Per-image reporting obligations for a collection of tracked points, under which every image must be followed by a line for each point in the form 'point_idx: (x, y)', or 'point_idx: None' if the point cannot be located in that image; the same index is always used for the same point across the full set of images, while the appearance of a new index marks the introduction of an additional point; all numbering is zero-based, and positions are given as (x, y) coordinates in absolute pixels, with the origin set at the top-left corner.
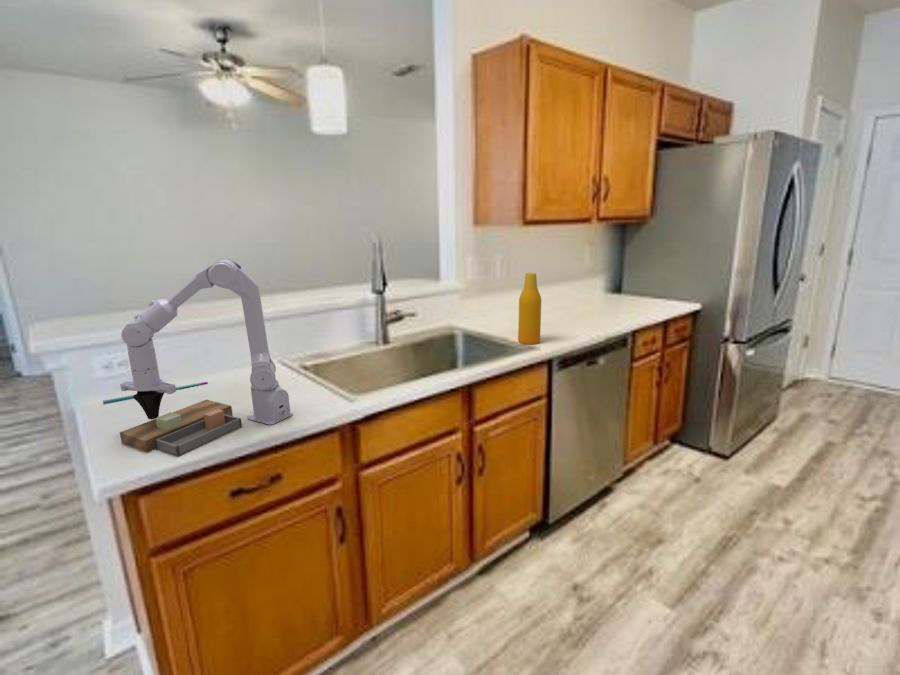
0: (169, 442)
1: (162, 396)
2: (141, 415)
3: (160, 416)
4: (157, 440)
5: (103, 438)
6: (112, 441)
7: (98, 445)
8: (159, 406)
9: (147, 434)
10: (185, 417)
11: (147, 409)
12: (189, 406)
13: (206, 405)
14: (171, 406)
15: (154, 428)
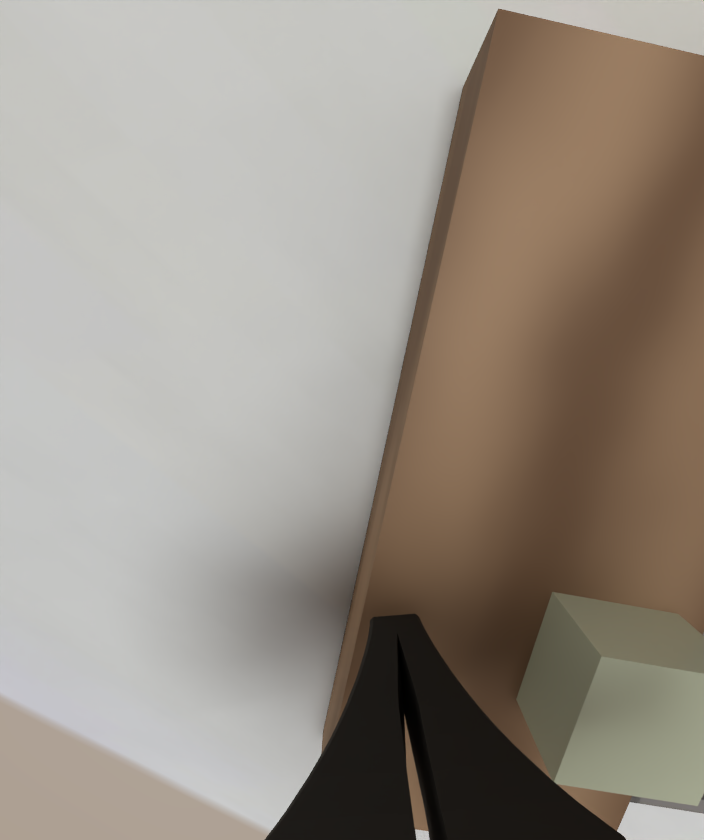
0: None
1: (556, 789)
2: (7, 374)
3: (571, 747)
4: (647, 802)
5: (147, 709)
6: (240, 723)
7: (212, 772)
8: (455, 680)
9: None
10: (610, 500)
11: (425, 805)
12: (451, 265)
13: (624, 186)
14: (57, 126)
15: (512, 718)
